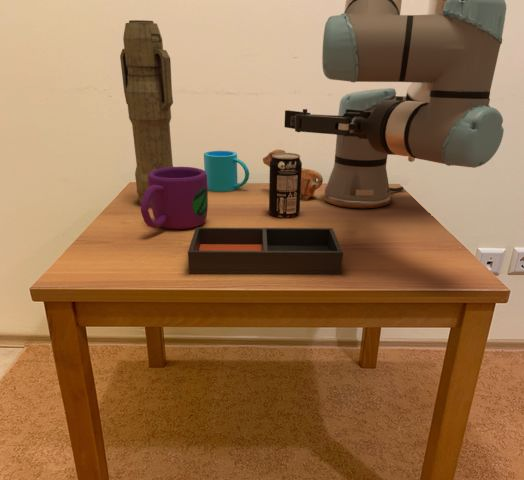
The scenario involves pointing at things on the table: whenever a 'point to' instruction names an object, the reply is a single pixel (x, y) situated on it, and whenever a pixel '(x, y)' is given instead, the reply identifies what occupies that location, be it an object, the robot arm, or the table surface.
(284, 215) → the beverage can
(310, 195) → the figurine
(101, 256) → the table surface
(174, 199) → the mug
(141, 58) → the stone statue
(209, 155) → the mug
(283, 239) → the tray
